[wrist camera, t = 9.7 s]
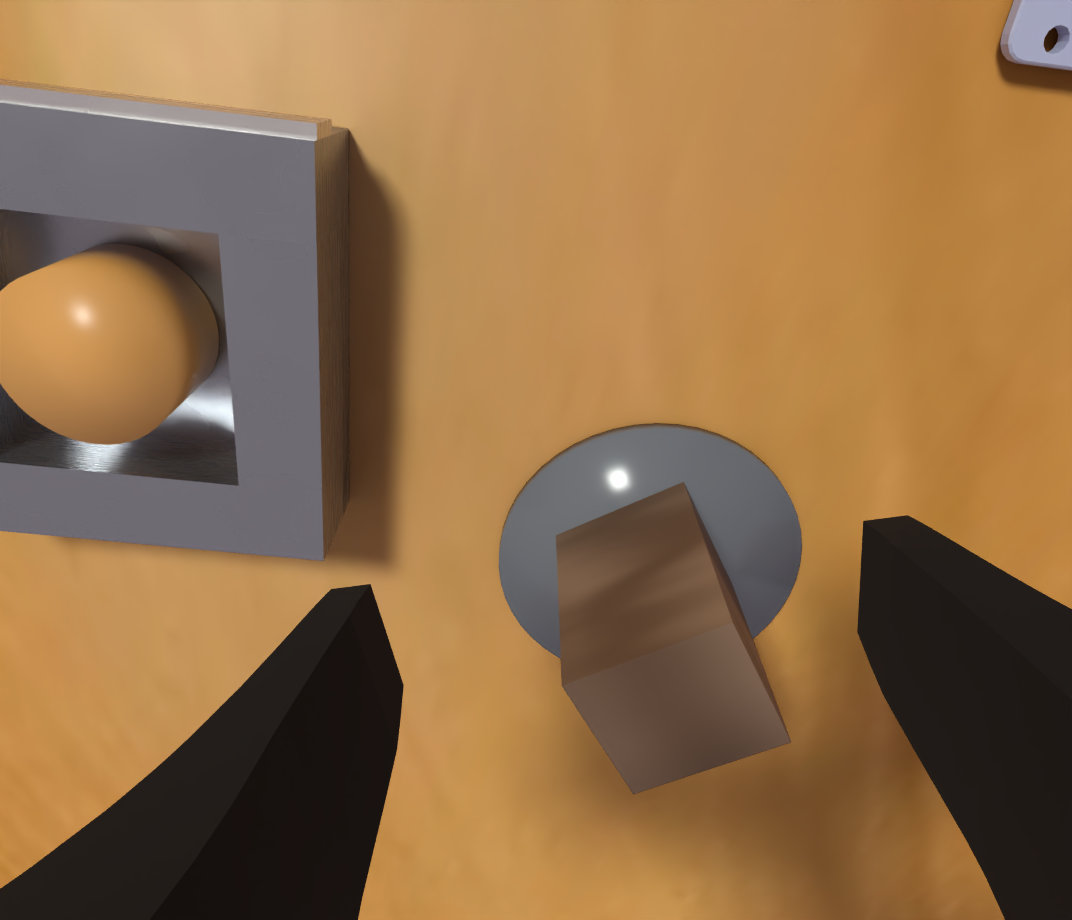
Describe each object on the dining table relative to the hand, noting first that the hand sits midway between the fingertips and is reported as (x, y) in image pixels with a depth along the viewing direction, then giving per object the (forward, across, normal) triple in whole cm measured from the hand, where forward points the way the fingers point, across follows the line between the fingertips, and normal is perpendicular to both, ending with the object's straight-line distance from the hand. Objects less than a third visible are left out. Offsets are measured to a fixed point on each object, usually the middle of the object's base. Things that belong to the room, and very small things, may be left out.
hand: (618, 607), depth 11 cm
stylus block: (+10, -1, +6) cm, 12 cm away
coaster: (+10, -1, +6) cm, 12 cm away
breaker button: (+9, +11, -3) cm, 14 cm away
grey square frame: (+10, +11, -3) cm, 15 cm away
